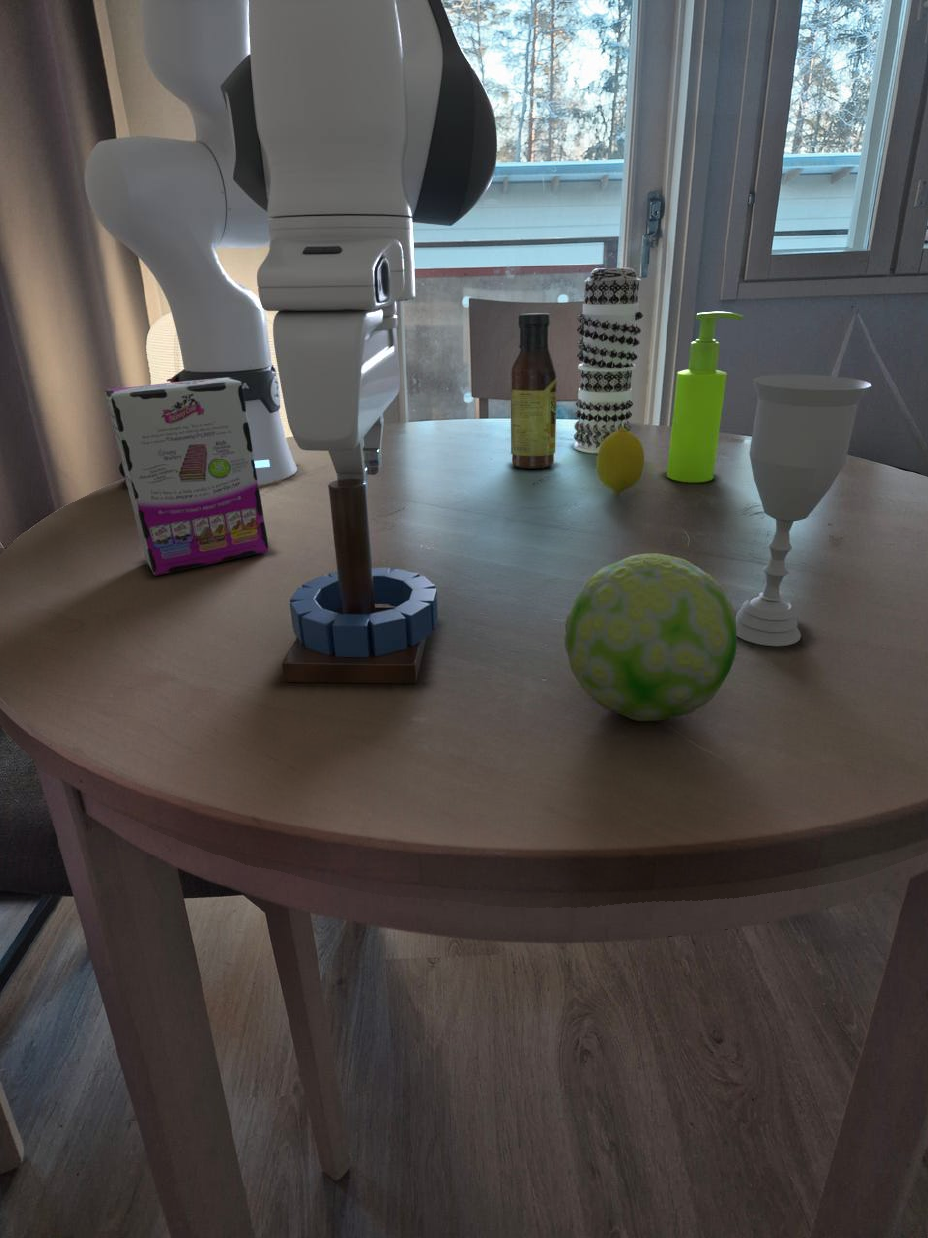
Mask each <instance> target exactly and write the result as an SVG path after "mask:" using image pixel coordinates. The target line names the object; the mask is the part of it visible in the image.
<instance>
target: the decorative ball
mask: <svg viewBox="0 0 928 1238" xmlns="http://www.w3.org/2000/svg"><path fill="white" fill-rule="evenodd" d="M735 617H736V612H735V610H734V607H733V604H732V602H731V601H730V599H729V598H728V597H727V594H726V592H725V590H724V589H723V587H721V585H720V584H719V583H718V582H717V580H716V579H715V578H714V577H712V575H710V574H709V573H707V572H705V571H704V570H702V569H701V567H699V566H696V565H694V564H693V563H692V562H690V561H688V560H686V559H684V558H681V557H678V556H672V555H668V554H664V553H655V552H653V553H650V552H649V553H639V554H634V555H629V556H627V557H626V558H623V559H622V560H618V561H616V562H614V563H610V564H609V565H606V566H604V567H602V568H600V569H599V570H598V571H597V572H595V573H594V574H593V575H591V577H589V579H587V580H586V582H585V583H584V585H583V587H582V589H580V592H579V593H578V595H577V597H576V599H575V600H574V602H573V603H572V606H571V608H570V610H569V611H568V613H567V616H566V620H565V624H564V625H565V626H564V627H565V635H564V648H565V652H566V654H567V657H568V664H569V667H570V670H571V672H572V674H573V677H574V678H575V680H576V682H577V683H578V684H579V686H580V687H581V688H582V690H583V691H584V692H585V693H586V694H587V695H588V696H589V697H590V698H591V699H592V700H594V701H595V702H596V703H597V704H598V705H599V706H601V707H603V708H605V709H607V710H609V711H613V712H614V713H617V714H619V715H622V716H624V717H626V718H629V719H631V720H633V721H637V722H651V721H655V722H658V721H664V720H669V719H673V718H678V717H683V716H688V715H690V714H693V713H694V712H695V711H696V710H697V709H699V708H701V707H703V706H705V705H707V704H709V702H710V701H712V700H713V699H714V697H715V696H716V694H717V693H718V691H719V690H720V688H721V687H722V685H723V684H724V682H725V680H726V678H727V676H728V675H729V674H730V671H731V669H732V666H733V664H734V661H735V659H736V654H737V645H738V643H737V642H738V641H737V639H738V636H737V635H736V618H735Z"/></svg>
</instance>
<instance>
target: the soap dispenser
mask: <svg viewBox="0 0 928 1238" xmlns="http://www.w3.org/2000/svg"><path fill="white" fill-rule="evenodd" d="M744 318H745V316H744V315H742V314H739V313H736V312H730V311H708V312H698V313H697V314H696V317H695V320H700V326H699V334H698V335H699V336H698V338H696V339H695V341H692V342H691V343H690V350H689V359H688V366H687V368H688V369H683V370H680V371H677V373H676V382H675V383H676V384H675V393H674V402H673V411H672V412H673V413H672V422H671V429H670V440H669V449H668V459H667V470H666V477H667V478H668V479H670V480H672V481H676V482H681V483H706V482H709V481H712V480H713V479H714V474H715V465H716V459H717V453H718V444H719V437H720V428H721V423H722V422H721V421H722V414H723V407H724V399H725V393H726V392H725V391H726V383H727V376H728V373H727V372H726V371H723V370H719V369H718V363H719V355H720V347H721V342H720V341H717V339H716V338H714V337H715V329H716V322H717V321H716V320H717V319H730V320H736V321H742V320H743V319H744Z"/></svg>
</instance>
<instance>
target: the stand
mask: <svg viewBox="0 0 928 1238" xmlns="http://www.w3.org/2000/svg"><path fill="white" fill-rule="evenodd" d="M328 495H329V504H330V505H329V506H330V515H331V522H332V523H331V524H332V533H333V543H334V544H333V545H334V552H335V554H334V555H335V562H336V572H337V573H338V583H339V593H340V602H341V609H339V610H337V611H335V613H339V614H372V613H377V612H382V611H386V610H391V609H394V608H395V607H385V606H384V607H383V606H382V607H379V606H377V607H376V604H375V597H374V584H373V572H372V568H373V561H372V549H371V548H372V547H371V536H370V524H369V522H370V521H369V510H368V497H367V491H366V485H365V482H364V481H362V480H358V479H342V480H337V479H336V480H333V481H330V482H329V483H328ZM427 638H428V637H426V638H425V639H423V640H422V641H420V642H419V643H417V644H416V645H414V646H410V645H407V649H404V650H400V651H396V652H392V653H388V654H384V655H380V656H375V654H374V653H373V652H372V651H371V653H370V656H369V657H336V656H335V652H334V653H333V654H331V655H326V654H323V653H320V652H317V651H315V650H312V649H309V648H306V647H305V644H304V645H301V643H300V641H299V640H298V638H297V637H296V638H295V640H294V641H293V644H292V645H291V647H290V649H289V650H288V652H287V654H286V655H285V658H284V659H283V660H282V662H281V665H282V671H283V672H282V673H283V680H284V682H285V683H330V684H331V683H333V684H337V683H339V684H405V685H406V684H409V685H410V684H412V685H413V684H417V683H418V682H417V681H418V677H419V672H420V667H421V665H422V660H423V655H424V651H425V646H426V642H427Z"/></svg>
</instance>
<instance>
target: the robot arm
mask: <svg viewBox="0 0 928 1238" xmlns="http://www.w3.org/2000/svg"><path fill="white" fill-rule="evenodd" d="M140 7H141V25H142V41H143V42H142V43H143V53H144V57H145V60H146V62H147V65H148V67H149V69H150V71H151V73H152V74H153V76H154V77H155V78H156V80H157V81H158V82H159V84H161V86H163V88H164V89H166V90H167V91H168V92H169V93H171V94H172V95H173V96H174V97H176V98H177V99H178V100H179V101H180V102H182V103H183V104H184V105H186V106H187V108H188V109H189V112H190V114H191V116H192V119H193V124H194V130H195V140H185V139H176V138H167V137H158V136H149V135H134V136H124V137H117V138H111V139H105V140H101V141H98V142H97V143H96V144H95V145H94V147H93V148H92V149H91V152H90V154H89V155H88V158H87V161H86V165H85V170H84V187H85V188H84V189H85V194H86V197H87V200H88V203H89V206H90V208H91V210H92V212H93V214H94V216H95V218H96V219H97V221H98V222H99V223H100V225H101V226H102V227H103V228H104V230H105V231H106V232H107V233H108V234H109V235H110V236H112V237H113V238H114V239H115V240H117V241H118V242H120V243H122V244H123V245H124V246H125V247H126V248H128V249H129V250H130V251H131V252H132V253H134V254H135V256H137V258H138V259H139V260H140V261H142V262H143V264H144V265H145V267H147V269H148V270H149V272H150V273H151V274H152V275H153V277H154V279H155V280H156V282H157V283H158V285H159V287H160V289H161V291H162V292H163V294H164V296H165V298H166V301H167V304H168V306H169V310H170V312H171V315H172V320H173V323H174V328H175V332H176V336H177V340H178V344H179V350H180V354H181V360H182V365H183V369H182V370H181V371H179V372H178V373H176V374H174V375H173V376H172V377H170V378H168V379H166V382H169V383H173V382H183V381H193V380H205V379H216V378H227V377H231V378H232V379H235V380H237V381H240V382H242V388H243V393H244V399H245V405H246V413H247V418H248V424H249V429H250V436H251V442H252V449H253V455H254V462H255V468H256V474H257V479H258V485H259V486H260V485H264V484H269V483H273V482H277V481H281V480H284V479H286V478H289V477H292V476H293V475H294V474H296V473H297V471H298V467H297V464H296V462H295V460H294V458H293V455H292V453H291V450H290V446H289V444H288V440H287V436H286V434H285V430H284V429H285V428H284V425H283V421H282V417H281V413H280V408H281V393H282V399H283V404H284V409H285V414H286V419H287V423H288V427H289V430H290V432H291V435H292V437H293V439H294V441H295V443H296V445H297V447H298V448H299V449H301V450H302V451H315V452H317V451H318V452H328V454H329V458H330V460H331V462H332V465H333V468H334V471H335V472H336V481H337V480H342V479H358V480H362V481H364V482H365V485H366V492H367V491H368V490H369V480H368V479H369V477H368V475H370V476H376V475H377V474H378V473H379V471H380V470H381V468H382V466H383V459H382V444H383V443H382V442H383V431H384V421H385V420H384V412H385V411H386V410H387V409H388V407H389V406H390V405H391V404H392V402H393V401H394V400H395V399H396V397H397V396H398V395H399V393H400V386H401V369H400V355H399V344H398V342H399V341H398V332H397V327H398V325H399V323H398V315H397V313H398V310H397V309H398V307H397V302H398V303H399V302H408V301H413V300H415V298H416V281H415V280H416V279H415V278H416V277H415V255H414V254H415V253H414V231H413V223H416V224H424V225H425V224H426V225H435V226H436V225H437V226H445V227H451V226H453V225H455V224H456V223H458V221H460V220H461V219H462V218H463V217H465V216H466V215H467V214H468V213H469V212H470V211H471V210H472V209H473V208H474V207H475V206H476V205H477V204H478V203H479V201H480V200H481V199H482V198H483V196H484V195H485V193H486V192H487V191H488V189H489V188H490V186H491V184H492V181H493V179H494V174H495V171H496V165H497V156H498V134H497V132H498V131H497V125H496V124H497V123H496V117H495V113H494V109H493V104H492V101H491V99H490V97H489V94H488V92H487V89H486V87H485V86H484V84H483V82H482V80H481V79H480V77H479V75H478V73H477V72H476V70H475V69H474V67H473V65H472V64H471V62H470V61H469V59H468V58H467V56H466V54H465V53H464V50H463V49H462V47H461V45H460V43H459V41H458V38H457V36H456V34H455V33H456V32H455V31H454V27H453V26H452V23H451V20H450V19H449V16H448V13H447V11H446V7H445V5H444V3H443V0H140ZM266 247H269V249H268V252H267V254H266V256H265V258H264V260H263V261H262V262H261V264H260V265H259V267H258V269H257V271H256V284H257V292H258V296H257V294H255V293H254V292H253V291H252V290H251V289H250V288H248V287H246V286H245V285H243V284H241V283H239V282H237V281H236V280H233V279H232V278H231V277H230V276H229V275H228V273H227V272H226V271H225V269H224V268H223V266H222V264H221V262H220V259H219V256H218V253H217V251H216V250H217V249H261V248H266ZM266 312H276V314H275V315H274V317H273V321H272V337H273V338H272V339H273V346H274V353H275V359H276V366H277V368H276V366H275V365H274V364H273V363H272V362H273V361H272V356H271V348H270V341H269V331H268V325H267V317H266ZM276 369H277V370H276ZM277 371H278V374H277ZM278 376H279V379H278ZM280 389H281V390H280ZM280 391H281V392H280ZM118 471H119V473H120V475H121V476H122V477H123V478H124V479H126V478H125V473H124V469H123V465H122V461H121V462H120V463H119V466H118ZM125 485H126V487H127V488H128V486H127V482H126V481H125Z"/></svg>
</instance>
